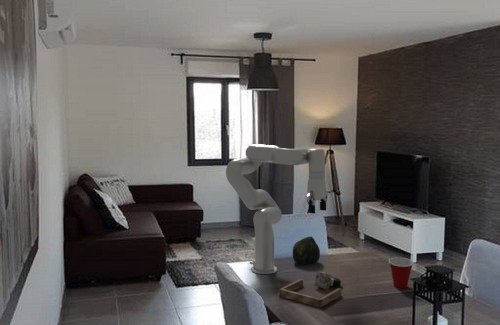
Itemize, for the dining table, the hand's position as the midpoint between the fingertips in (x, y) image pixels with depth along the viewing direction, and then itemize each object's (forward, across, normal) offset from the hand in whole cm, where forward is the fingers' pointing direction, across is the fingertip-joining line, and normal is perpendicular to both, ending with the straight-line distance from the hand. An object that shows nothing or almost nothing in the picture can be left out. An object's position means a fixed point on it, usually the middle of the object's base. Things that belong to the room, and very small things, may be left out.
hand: (317, 211), depth 216 cm
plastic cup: (+34, -17, +32) cm, 50 cm away
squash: (+32, -20, -21) cm, 44 cm away
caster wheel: (+33, +4, +7) cm, 34 cm away
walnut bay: (+33, +19, +7) cm, 39 cm away
